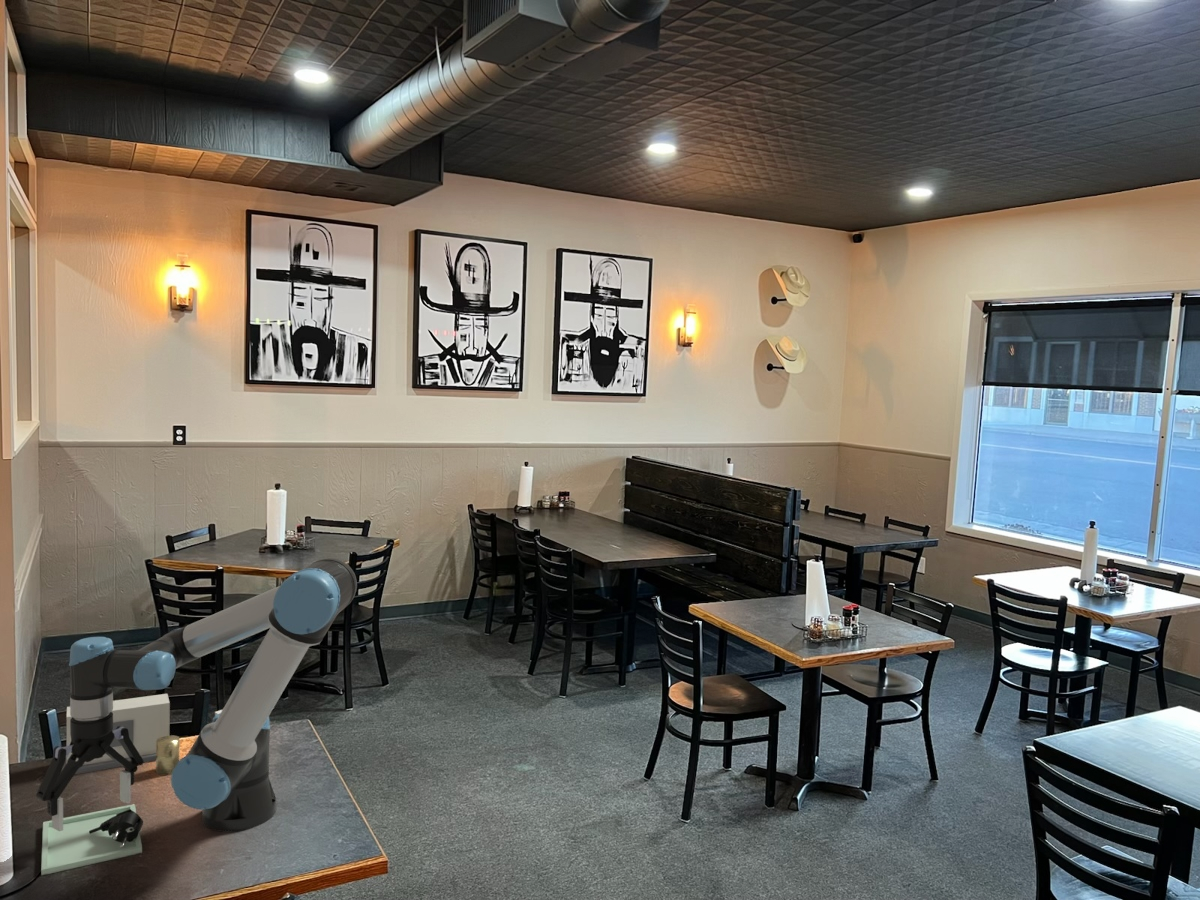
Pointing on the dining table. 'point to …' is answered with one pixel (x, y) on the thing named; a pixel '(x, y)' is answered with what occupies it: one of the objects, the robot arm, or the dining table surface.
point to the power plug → (122, 827)
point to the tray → (83, 842)
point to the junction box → (132, 729)
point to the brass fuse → (167, 754)
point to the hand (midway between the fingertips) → (92, 814)
